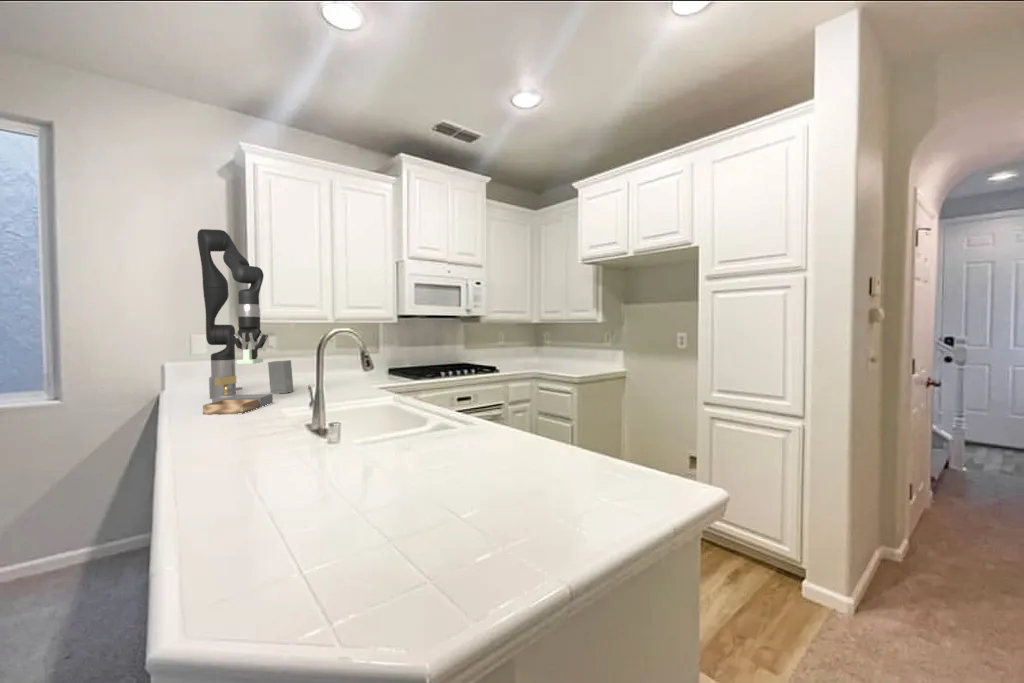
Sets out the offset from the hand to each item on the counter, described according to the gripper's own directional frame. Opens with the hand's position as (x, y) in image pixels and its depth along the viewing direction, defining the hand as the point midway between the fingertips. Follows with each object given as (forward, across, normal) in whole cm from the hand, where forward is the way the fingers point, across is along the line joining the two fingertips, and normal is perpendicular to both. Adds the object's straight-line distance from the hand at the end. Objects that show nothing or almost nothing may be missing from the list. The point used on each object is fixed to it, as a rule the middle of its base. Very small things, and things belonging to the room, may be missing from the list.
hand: (250, 359), depth 175 cm
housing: (+19, -3, 0) cm, 19 cm away
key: (+14, -9, +2) cm, 17 cm away
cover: (+2, 0, 0) cm, 2 cm away
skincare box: (+19, -5, +38) cm, 43 cm away
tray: (+19, -1, -12) cm, 22 cm away
